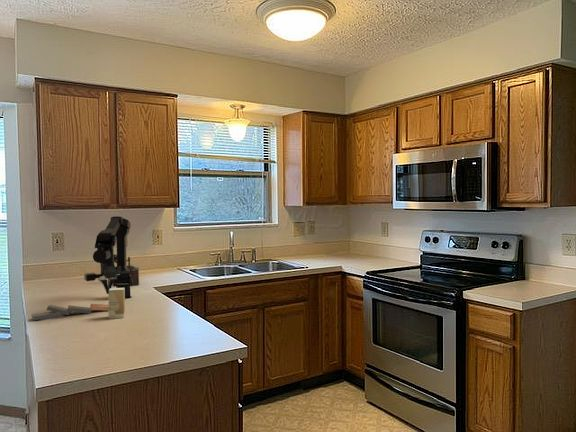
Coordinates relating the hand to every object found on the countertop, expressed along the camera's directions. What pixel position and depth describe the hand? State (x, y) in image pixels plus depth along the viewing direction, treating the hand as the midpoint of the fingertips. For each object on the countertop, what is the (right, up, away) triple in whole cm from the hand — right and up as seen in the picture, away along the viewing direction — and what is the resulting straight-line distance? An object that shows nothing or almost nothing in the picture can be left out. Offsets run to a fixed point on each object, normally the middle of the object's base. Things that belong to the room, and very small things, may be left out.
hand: (108, 293), depth 203 cm
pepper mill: (-14, -5, +61) cm, 62 cm away
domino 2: (-13, -7, -8) cm, 17 cm away
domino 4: (-6, -7, -4) cm, 10 cm away
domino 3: (-15, -8, -10) cm, 20 cm away
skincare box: (+9, -8, -13) cm, 18 cm away
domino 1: (-18, -7, -11) cm, 22 cm away
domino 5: (+2, -6, 0) cm, 7 cm away
